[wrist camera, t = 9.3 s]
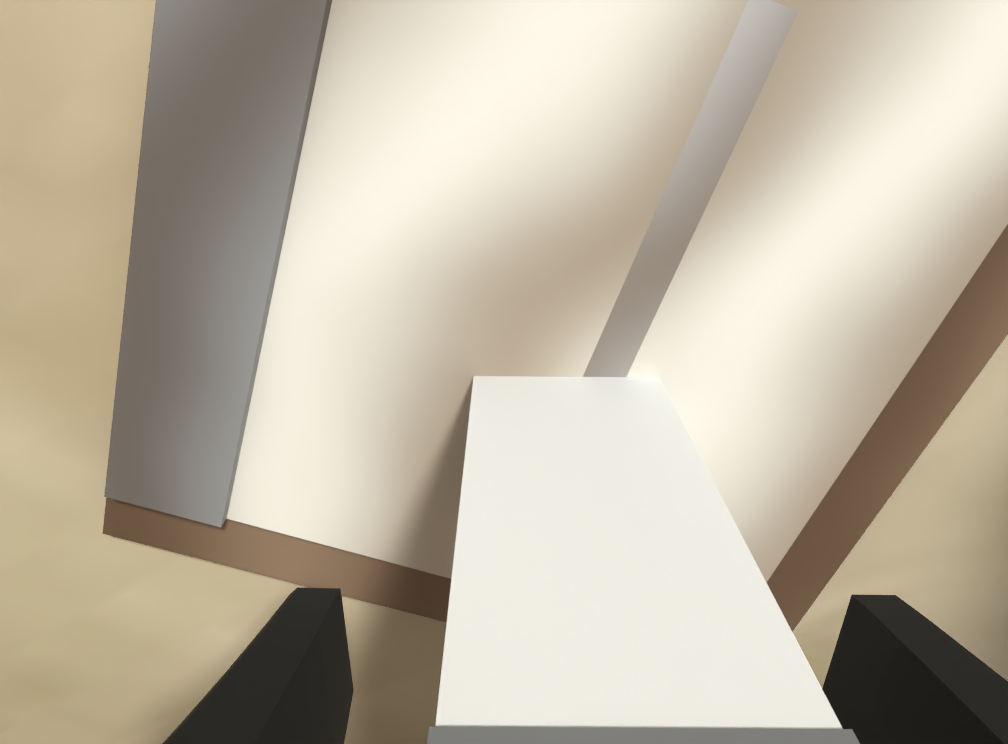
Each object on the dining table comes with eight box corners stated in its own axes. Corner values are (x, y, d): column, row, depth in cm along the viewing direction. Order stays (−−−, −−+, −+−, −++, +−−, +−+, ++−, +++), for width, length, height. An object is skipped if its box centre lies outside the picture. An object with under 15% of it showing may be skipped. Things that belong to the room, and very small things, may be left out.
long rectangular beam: (661, 375, 12) (974, 959, 4) (643, 529, 14) (844, 1177, 6) (470, 373, 12) (401, 955, 4) (473, 527, 14) (426, 1177, 6)
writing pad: (1301, -107, 10) (1374, -124, 9) (738, 685, 17) (750, 716, 16) (245, -651, 7) (212, -744, 7) (112, 522, 14) (89, 548, 14)
